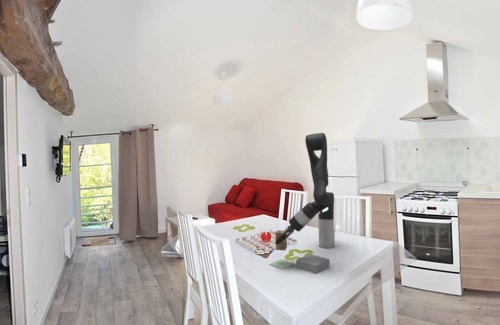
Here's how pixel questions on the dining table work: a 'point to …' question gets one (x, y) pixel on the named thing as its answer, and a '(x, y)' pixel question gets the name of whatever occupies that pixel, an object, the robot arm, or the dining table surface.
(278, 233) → the walnut block
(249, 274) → the dining table surface
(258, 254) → the wooden fragment
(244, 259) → the dining table surface
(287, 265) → the mat
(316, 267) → the gray square slab
